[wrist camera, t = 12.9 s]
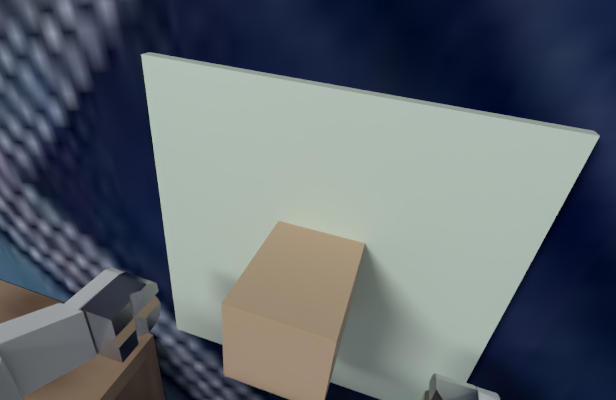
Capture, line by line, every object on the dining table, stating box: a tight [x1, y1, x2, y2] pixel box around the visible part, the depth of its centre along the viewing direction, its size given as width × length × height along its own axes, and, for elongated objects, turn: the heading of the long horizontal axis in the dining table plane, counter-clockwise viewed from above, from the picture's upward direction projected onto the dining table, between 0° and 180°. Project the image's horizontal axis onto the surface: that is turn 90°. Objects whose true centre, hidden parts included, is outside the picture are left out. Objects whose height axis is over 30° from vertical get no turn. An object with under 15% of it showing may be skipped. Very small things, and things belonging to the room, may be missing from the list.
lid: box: [141, 52, 600, 400], centre depth 12 cm, size 12×12×5 cm
